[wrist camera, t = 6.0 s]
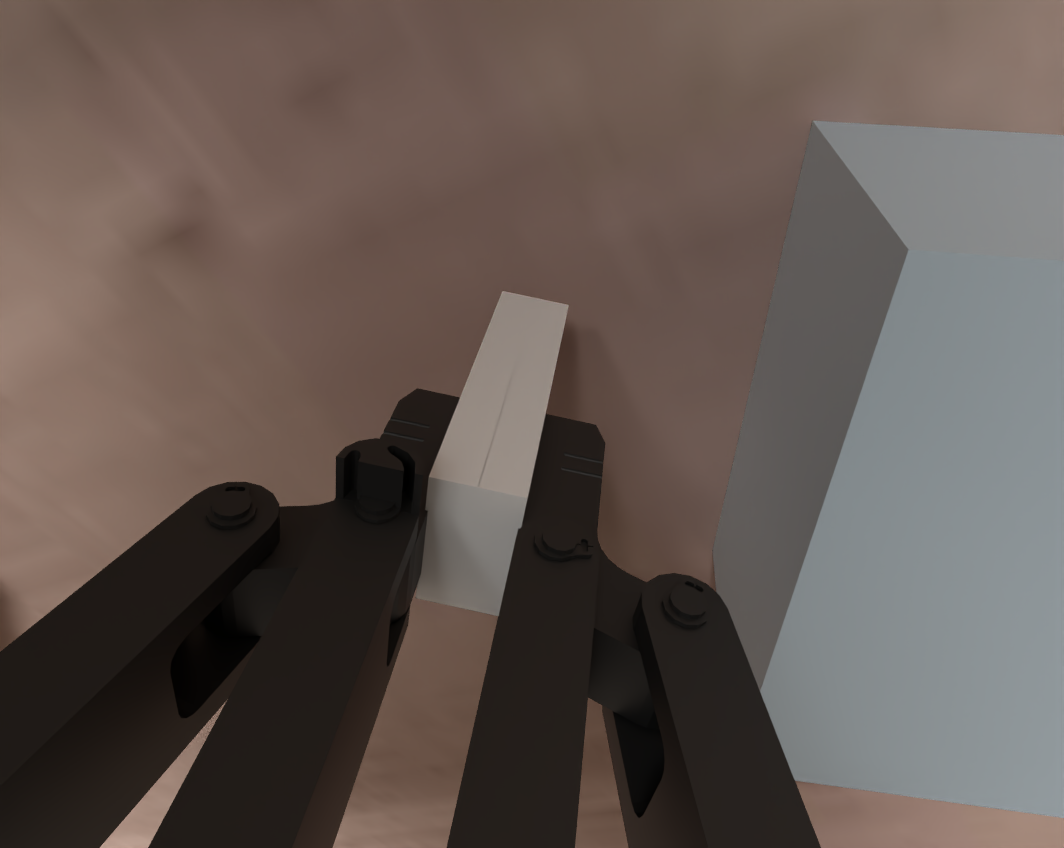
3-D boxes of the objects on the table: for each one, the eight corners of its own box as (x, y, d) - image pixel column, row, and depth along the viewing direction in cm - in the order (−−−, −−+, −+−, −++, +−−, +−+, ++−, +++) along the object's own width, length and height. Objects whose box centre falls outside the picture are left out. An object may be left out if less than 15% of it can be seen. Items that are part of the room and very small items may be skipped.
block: (712, 546, 22) (733, 771, 16) (811, 118, 15) (908, 249, 9) (995, 578, 21) (1122, 826, 15) (1238, 143, 14) (1631, 302, 8)
